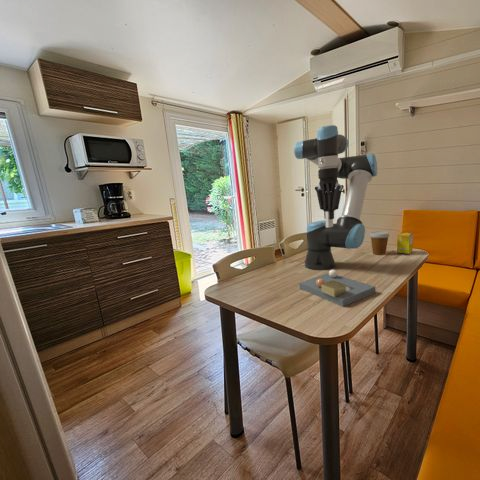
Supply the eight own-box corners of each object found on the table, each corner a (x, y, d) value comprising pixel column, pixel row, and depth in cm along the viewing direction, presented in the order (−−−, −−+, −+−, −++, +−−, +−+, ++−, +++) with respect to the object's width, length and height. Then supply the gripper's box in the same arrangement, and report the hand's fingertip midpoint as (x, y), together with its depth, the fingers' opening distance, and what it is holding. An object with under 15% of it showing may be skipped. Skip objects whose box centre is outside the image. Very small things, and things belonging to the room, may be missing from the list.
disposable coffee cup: (381, 256, 141) (381, 235, 139) (366, 253, 150) (366, 233, 147) (392, 253, 146) (393, 232, 143) (376, 250, 154) (377, 230, 152)
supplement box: (400, 251, 149) (400, 232, 146) (412, 252, 144) (413, 233, 142) (396, 253, 145) (397, 234, 143) (409, 255, 140) (409, 235, 138)
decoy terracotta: (314, 286, 104) (314, 278, 103) (320, 284, 106) (320, 276, 105) (320, 289, 101) (320, 281, 100) (327, 287, 103) (326, 278, 102)
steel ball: (337, 291, 101) (342, 285, 99) (343, 289, 103) (347, 283, 100) (344, 298, 99) (348, 292, 97) (349, 295, 101) (354, 290, 98)
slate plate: (299, 288, 110) (299, 282, 110) (329, 277, 119) (329, 272, 118) (342, 306, 91) (342, 299, 91) (375, 292, 100) (375, 286, 99)
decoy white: (327, 277, 113) (327, 269, 112) (332, 275, 114) (332, 267, 114) (333, 279, 110) (333, 271, 109) (339, 277, 111) (339, 269, 111)
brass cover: (321, 291, 98) (321, 284, 98) (332, 287, 101) (332, 280, 100) (334, 296, 93) (334, 289, 92) (345, 292, 96) (345, 284, 95)
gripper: (309, 170, 108) (311, 226, 112) (334, 166, 96) (335, 229, 101) (322, 169, 111) (323, 224, 116) (348, 165, 100) (348, 226, 104)
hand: (329, 226), depth 108 cm, fingers closed
